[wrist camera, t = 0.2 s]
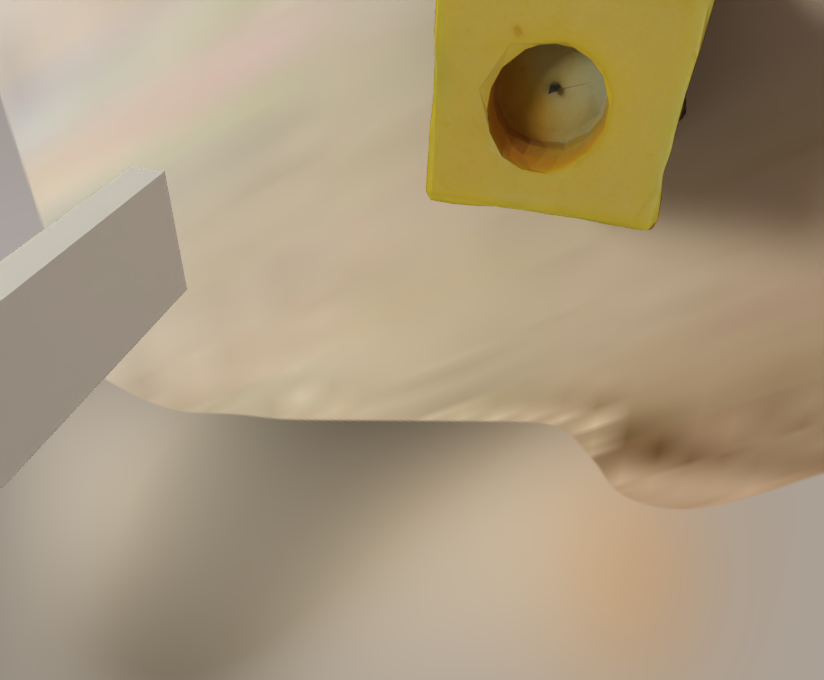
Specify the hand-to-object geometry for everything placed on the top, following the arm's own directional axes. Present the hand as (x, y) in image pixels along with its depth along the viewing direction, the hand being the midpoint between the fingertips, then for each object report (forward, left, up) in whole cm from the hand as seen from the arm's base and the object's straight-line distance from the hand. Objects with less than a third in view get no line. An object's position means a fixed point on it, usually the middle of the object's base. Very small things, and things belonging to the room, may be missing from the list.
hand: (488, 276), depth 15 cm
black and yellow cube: (+3, 0, -28) cm, 28 cm away
